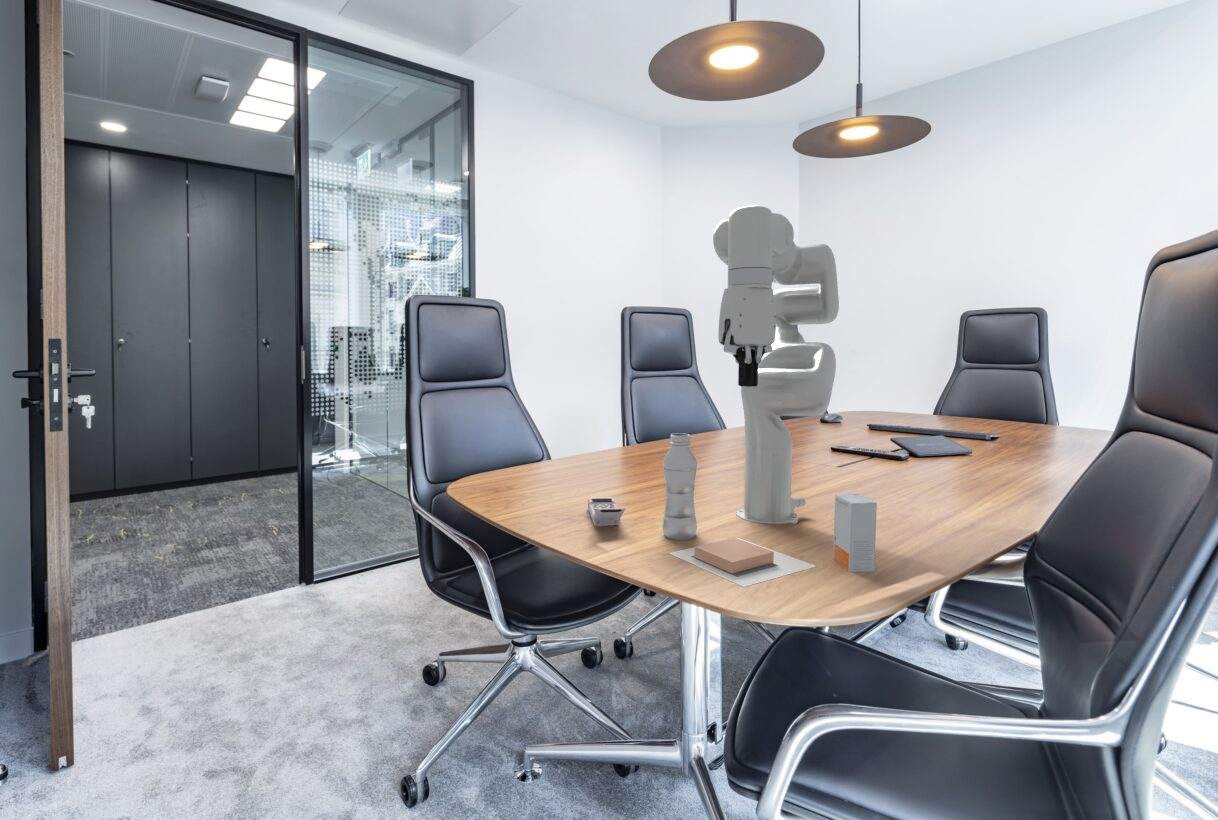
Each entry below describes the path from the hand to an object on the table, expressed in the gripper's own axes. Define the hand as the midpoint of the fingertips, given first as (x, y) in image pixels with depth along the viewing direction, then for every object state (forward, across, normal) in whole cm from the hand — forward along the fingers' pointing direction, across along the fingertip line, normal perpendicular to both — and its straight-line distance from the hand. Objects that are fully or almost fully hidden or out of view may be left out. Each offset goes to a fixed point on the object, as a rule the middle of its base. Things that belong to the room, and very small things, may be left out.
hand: (747, 385), depth 109 cm
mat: (+29, +8, +7) cm, 31 cm away
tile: (+27, +5, +7) cm, 28 cm away
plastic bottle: (+29, +8, -9) cm, 32 cm away
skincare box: (+29, -5, +19) cm, 35 cm away
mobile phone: (+30, +12, -29) cm, 43 cm away
